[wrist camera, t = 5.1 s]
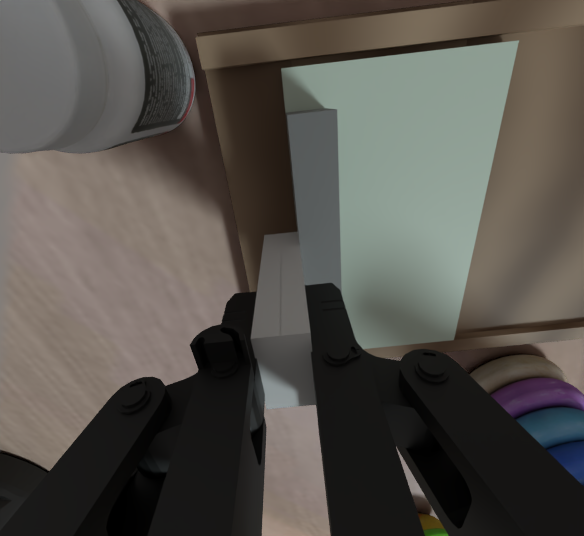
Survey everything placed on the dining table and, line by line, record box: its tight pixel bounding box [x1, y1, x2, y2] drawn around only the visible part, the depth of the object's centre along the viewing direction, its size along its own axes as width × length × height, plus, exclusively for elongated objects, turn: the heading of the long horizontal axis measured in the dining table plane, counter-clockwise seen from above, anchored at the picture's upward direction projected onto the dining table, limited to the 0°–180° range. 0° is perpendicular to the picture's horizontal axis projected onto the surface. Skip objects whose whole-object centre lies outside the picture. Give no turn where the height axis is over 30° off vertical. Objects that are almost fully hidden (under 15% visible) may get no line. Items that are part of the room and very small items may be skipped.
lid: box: [281, 40, 519, 349], centre depth 14 cm, size 9×15×4 cm, turn 6°
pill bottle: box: [0, 0, 195, 154], centre depth 9 cm, size 5×5×8 cm
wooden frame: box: [195, 0, 584, 358], centre depth 16 cm, size 22×18×2 cm
